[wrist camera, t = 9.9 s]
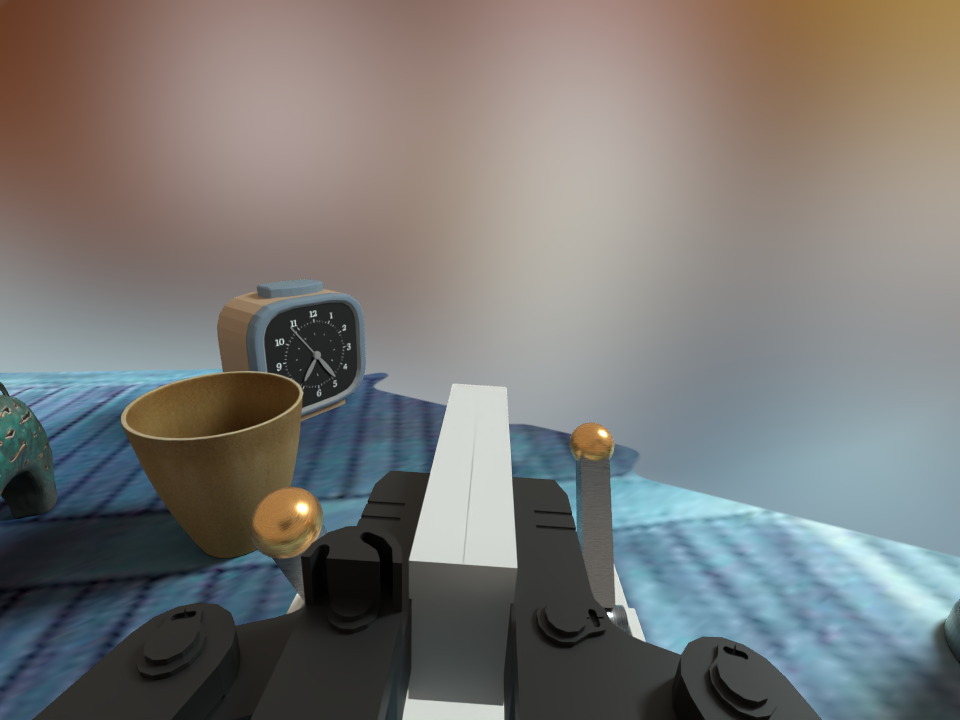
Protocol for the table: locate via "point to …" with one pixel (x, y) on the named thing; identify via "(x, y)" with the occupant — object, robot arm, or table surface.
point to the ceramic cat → (24, 460)
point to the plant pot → (217, 450)
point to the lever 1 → (287, 529)
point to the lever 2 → (596, 514)
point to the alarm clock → (297, 339)
